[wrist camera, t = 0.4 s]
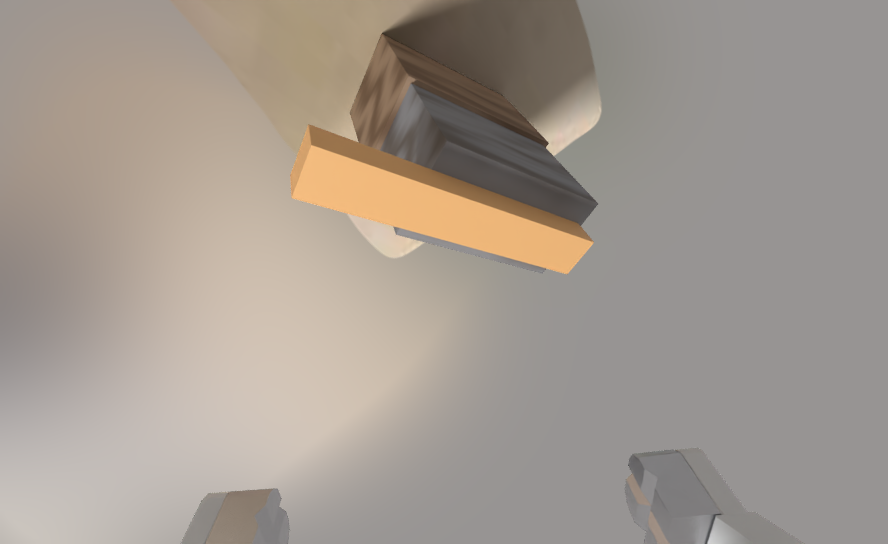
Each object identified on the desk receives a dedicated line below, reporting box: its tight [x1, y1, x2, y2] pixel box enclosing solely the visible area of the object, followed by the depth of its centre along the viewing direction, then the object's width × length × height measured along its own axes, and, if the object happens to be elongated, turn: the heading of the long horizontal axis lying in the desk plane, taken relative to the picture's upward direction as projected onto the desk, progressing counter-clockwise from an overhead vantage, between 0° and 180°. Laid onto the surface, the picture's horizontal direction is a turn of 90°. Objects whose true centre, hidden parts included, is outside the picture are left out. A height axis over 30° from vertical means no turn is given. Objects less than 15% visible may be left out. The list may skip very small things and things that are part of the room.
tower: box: [350, 34, 598, 273], centre depth 48 cm, size 10×18×26 cm, turn 61°
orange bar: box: [290, 124, 594, 274], centre depth 36 cm, size 4×26×3 cm, turn 61°
